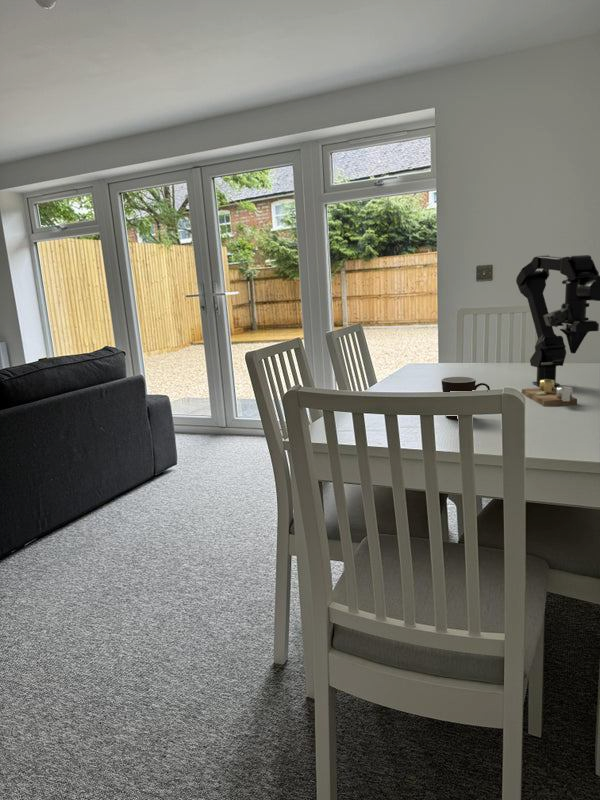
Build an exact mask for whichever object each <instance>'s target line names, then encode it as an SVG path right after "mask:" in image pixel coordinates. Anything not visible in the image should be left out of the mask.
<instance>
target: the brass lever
mask: <svg viewBox="0 0 600 800" xmlns="http://www.w3.org/2000/svg"><path fill="white" fill-rule="evenodd" d="M554 381H555V380H552V379H541V380H540V386H539V388H540V389H543V390H544V392H546V393H552V390H553V389H555V386H554Z"/></svg>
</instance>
